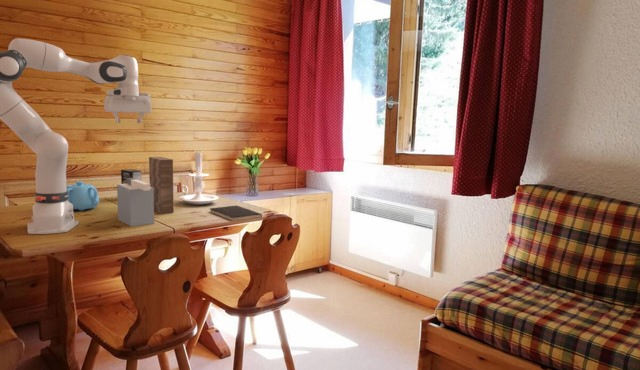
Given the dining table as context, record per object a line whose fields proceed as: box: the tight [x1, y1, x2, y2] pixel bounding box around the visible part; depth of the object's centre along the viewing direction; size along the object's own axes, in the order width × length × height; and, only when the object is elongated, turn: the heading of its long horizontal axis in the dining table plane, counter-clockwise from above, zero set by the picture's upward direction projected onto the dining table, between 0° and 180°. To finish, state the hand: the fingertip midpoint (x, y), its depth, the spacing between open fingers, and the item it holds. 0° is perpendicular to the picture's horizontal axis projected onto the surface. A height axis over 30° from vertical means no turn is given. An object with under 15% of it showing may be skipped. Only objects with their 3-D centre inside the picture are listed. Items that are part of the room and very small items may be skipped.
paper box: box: [116, 183, 155, 227], centre depth 207 cm, size 16×10×16 cm, turn 41°
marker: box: [127, 178, 150, 191], centre depth 203 cm, size 20×3×3 cm, turn 41°
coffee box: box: [120, 168, 142, 184], centre depth 257 cm, size 9×6×16 cm
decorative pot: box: [66, 180, 100, 212], centre depth 229 cm, size 16×16×14 cm
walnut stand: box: [148, 156, 175, 215], centre depth 230 cm, size 14×6×26 cm, turn 41°
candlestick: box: [178, 151, 220, 205], centre depth 253 cm, size 21×25×28 cm
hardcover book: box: [209, 205, 263, 222], centre depth 230 cm, size 16×23×2 cm
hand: (128, 122), depth 215 cm, fingers open, 8 cm apart
